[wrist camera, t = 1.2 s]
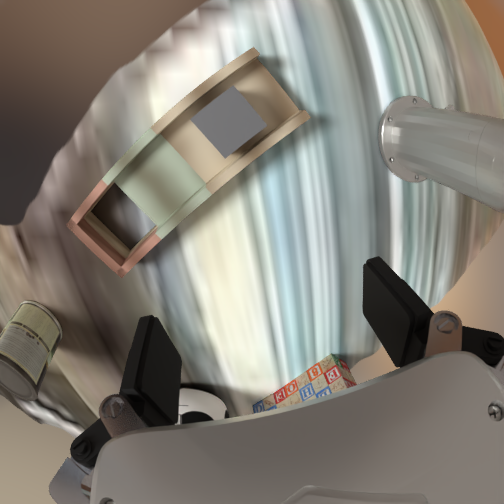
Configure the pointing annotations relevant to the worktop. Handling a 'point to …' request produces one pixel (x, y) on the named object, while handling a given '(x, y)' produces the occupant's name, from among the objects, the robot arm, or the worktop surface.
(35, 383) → the coffee can
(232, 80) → the lane
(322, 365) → the stack of blocks
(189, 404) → the milk container
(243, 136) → the block
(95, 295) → the worktop surface
